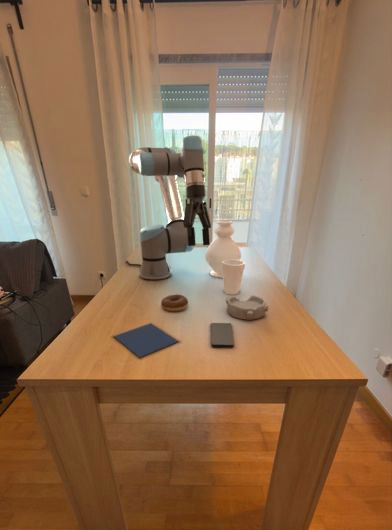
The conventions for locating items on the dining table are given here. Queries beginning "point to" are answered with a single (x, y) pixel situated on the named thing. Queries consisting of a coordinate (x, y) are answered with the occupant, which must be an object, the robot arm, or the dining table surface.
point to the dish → (247, 307)
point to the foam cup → (232, 275)
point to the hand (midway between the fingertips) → (199, 245)
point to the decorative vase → (222, 248)
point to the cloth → (145, 340)
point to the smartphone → (221, 335)
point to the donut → (174, 302)
